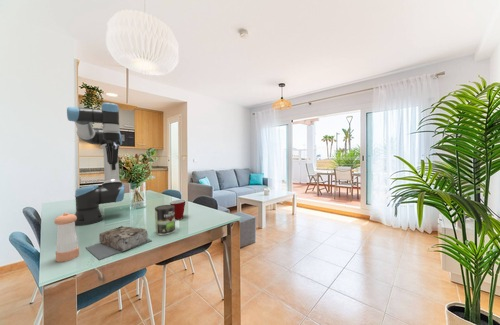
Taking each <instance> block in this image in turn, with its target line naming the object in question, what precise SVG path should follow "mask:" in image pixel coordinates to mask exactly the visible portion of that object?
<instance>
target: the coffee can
mask: <svg viewBox="0 0 500 325" xmlns="http://www.w3.org/2000/svg"><path fill="white" fill-rule="evenodd" d="M154 210H155V211H154V218H155V220H154V222H155V235H158V236H166V235H171V234H173V233H174V232H176V219H175V206H174V205H170V204H163V205H157V206H155V207H154Z"/></svg>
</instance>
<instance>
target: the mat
mask: <svg viewBox="0 0 500 325" xmlns="http://www.w3.org/2000/svg"><path fill="white" fill-rule="evenodd" d="M150 242H152V239H150V238H148V237H147V241H146V242H144V243H141V244H139V245H136V246H134V247H132V248H130V249H127V250H125V251H120V250H118V249H115V248H112V247H110V246H107V245H105V244H102V243H100V242H99V243H95V244H93V245H89V246H86V247H85V249H86V251H87V252H89V253H90V254H91V255H92V256H94V257H95V258H96V259H97V260H98V261H101V260H105V259H106V258H110V257H113V256H115V255H117V254H120V253H123V252H127V251H128V250H133V249H135V248H137V247H140V246H142V245H145V244H147V243H150Z"/></svg>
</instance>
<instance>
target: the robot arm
mask: <svg viewBox="0 0 500 325" xmlns="http://www.w3.org/2000/svg"><path fill="white" fill-rule="evenodd" d="M66 117H67V121H70V122H73V123H75V127H76V135H77V137H78V138H79V139H80V140H82V141H83V142H85V143H87V144H91V145H100V148H101V149H102V151H103V152H102V153H103V172H104V175H103V176H104V182H102V184H101V186H99V185H98V184H94V185H93V184H91V185H85V186H82V187H78V188H77V189H76V190H75V195H74V197H75V214H74V215H76V217H77V219H76V221H74V222H75V226H87V225H92V224H95V223H98V222H101V221H103V220H104V216H103V214H102V211H101V209H100V205H103V204H111V203H119V202H123V200H124V199H125V198H124V197H125V191H126V190H125V189H126V186H125V184H123V182H122V181H121V180H120V164H119V148H121V146H122V145H123V140H122V134H121V130H120V128H121V127H120V108H119V105H118V104H117V103H111V102H102V104H101V109H96V108H88V107H87V108H86V107H78V106H68V107H66ZM93 123H94V124H101V126H100V127H101V128H100V127H99V128H98V127H93Z"/></svg>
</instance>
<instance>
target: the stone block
mask: <svg viewBox="0 0 500 325" xmlns="http://www.w3.org/2000/svg"><path fill="white" fill-rule="evenodd" d="M148 236H149V235H148V230H147V229H145V228H138V227H131V226H119V227H116V228H112V229H109V230H106V231H104V232H101V233H99V236H98V237H99V238H98V239H99V243H102V244H105V245H107V246H110V247H112V248H115V249H118V250H120V251H123V252H126V251H128V250H127V249H129V250H131V249H130V248H132V247H134V246H136V245H139V244H141V243H144V242H146V241H147V238H148ZM134 248H135V247H134ZM132 249H133V248H132ZM125 250H126V251H125Z"/></svg>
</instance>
